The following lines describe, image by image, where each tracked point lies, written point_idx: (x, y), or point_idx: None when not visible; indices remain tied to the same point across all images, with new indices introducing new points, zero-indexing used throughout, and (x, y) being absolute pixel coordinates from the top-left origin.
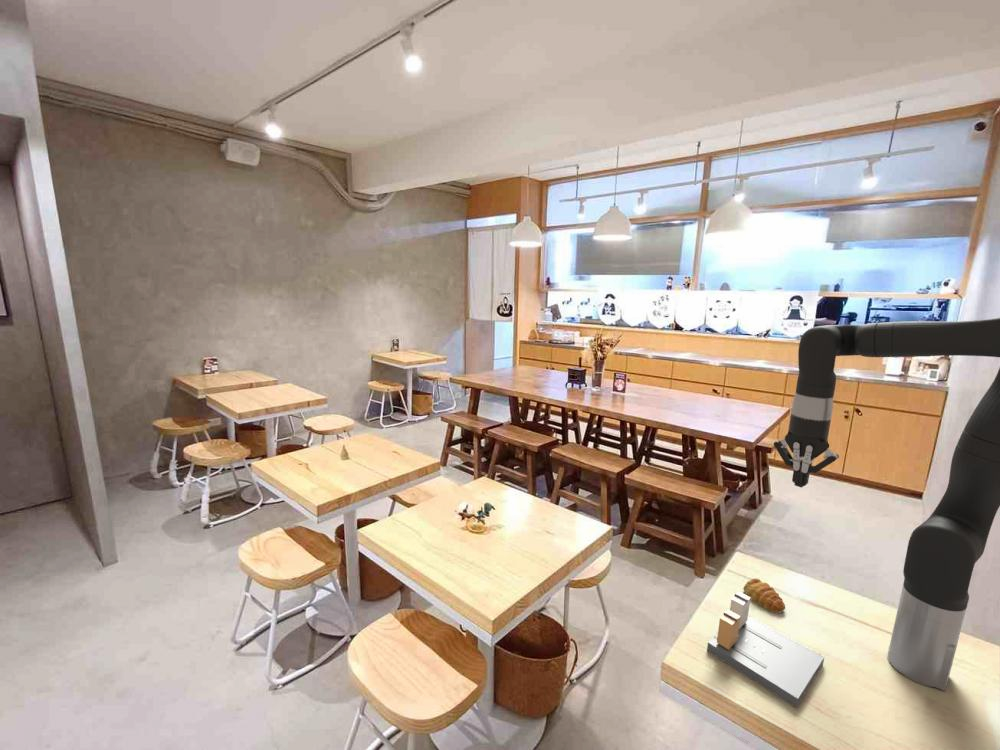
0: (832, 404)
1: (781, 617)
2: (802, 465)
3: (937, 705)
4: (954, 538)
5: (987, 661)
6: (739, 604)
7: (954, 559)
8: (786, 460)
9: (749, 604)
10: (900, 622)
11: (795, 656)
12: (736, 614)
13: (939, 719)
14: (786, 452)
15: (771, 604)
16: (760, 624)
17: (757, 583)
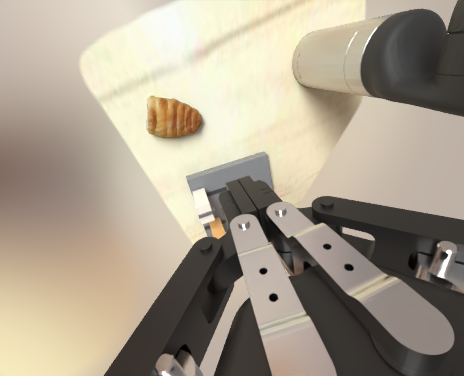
0: None
1: (204, 126)
2: (259, 225)
3: (334, 98)
4: None
5: None
6: (211, 220)
7: None
8: (214, 298)
9: (207, 198)
10: (331, 86)
11: (253, 180)
12: (222, 235)
13: (337, 115)
14: (201, 328)
15: (192, 132)
16: (212, 176)
17: (157, 119)
